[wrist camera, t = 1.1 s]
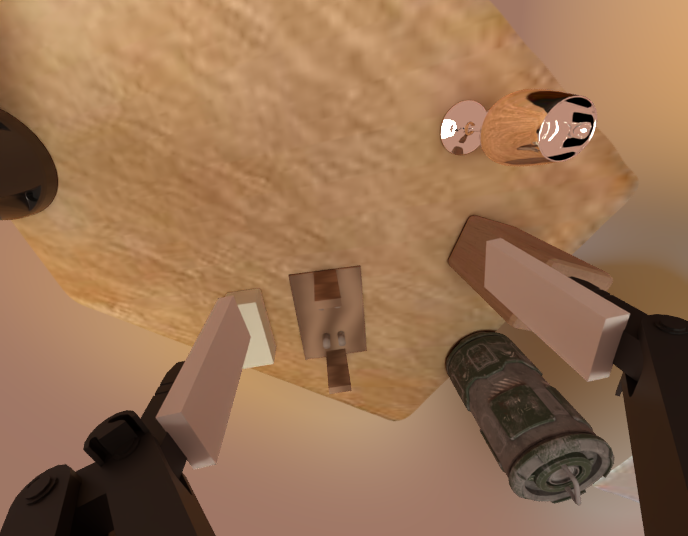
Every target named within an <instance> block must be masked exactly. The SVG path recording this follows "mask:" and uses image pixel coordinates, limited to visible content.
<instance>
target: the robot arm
mask: <svg viewBox="0 0 688 536" xmlns="http://www.w3.org/2000/svg"><path fill="white" fill-rule="evenodd" d="M56 190H57V175H56V170H55V167H54V164H53V161H52V159H51V157H50V155H49V153H48V152H47V150H46V149H45V147H44V146H43V144H42V143H41V142H40V140H39V139H38V138H37V137H36V136H35V135H34V134H33V133H32V132H31V131H30V130H29V129H28V128H27V127H26V126H25V125H24V124H22V123H21V122H20V121H18V120H17V119H16V118H14V117H13V116H11V115H10V114H8V113H6V112H4V111H3V110H1V109H0V220H13V219H19V218H23V217H26V216H29V215H32V214H35V213H38V212H40V211H42V210H44V209H45V208H46V207H47V206H48V205H49V204H50V203H51V202H52V200H53V199H54V197H55V194H56ZM484 287H485V288H486V289H487V290H488V291H489V292H490V293H492V294H493V295H494V296H495V297H496V298H497V299H498V300H499V301H500V302H501V303H502V304H504V305H505V306H506V307H507V308H508V309H509V310H510V311H511V312H512V313H513V314H514V315H516V316H517V317H518V318H519V319H520V320H521V321H522V322H523V323H524V324H525V325H526V326H527V327H529V328H530V329H531V330H532V331H533V332H534V333H535V334H536V335H537V336H538V337H539V338H541V339H542V340H543V341H544V342H545V343H546V344H547V345H548V346H549V347H550V348H551V349H553V350H554V351H555V352H556V353H557V354H558V355H559V356H560V357H561V358H562V359H563V360H564V361H566V362H567V363H568V364H569V365H570V366H571V367H572V368H573V369H575V371H576V372H578V373H579V374H580V375H581V376H582V377H583V378H584V379H585V380H586V381H588V382H589V381H593V380H598V379H602V378H606V377H609V375H610V372H611V369H612V366H613V364H614V365H615V366H617V367H618V368H619V369H621V370H622V371H623V374H622V377H621V379H620V382H619V385H618V387H617V390H616V394H615V395H617V396H620V394H621V392H622V391H623V397H624V403H625V410H626V416H627V423H628V430H629V436H630V443H631V449H632V456H633V462H634V469H635V475H636V482H637V488H638V495H639V501H640V508H641V514H642V521H643V526H644V534H645V536H688V321H686V320H684V319H681V318H678V317H674V316H669V315H660V314H654V315H647V314H645V313H644V312H642V311H640V310H638V309H637V308H635V307H633V306H631V305H629V304H628V303H625V302H624V301H622V300H620V299H618V298H617V297H615V296H613V295H610V293H608V292H606V291H604V290H600V288H599V287H597V286H595V285H594V284H592V283H590V282H588V281H585V280H582V279H579V278H576V277H573V276H571V277H567V276H565V275H563V274H562V273H560V272H558V271H557V270H555V269H553V268H551V267H550V266H548V265H546V264H545V263H543V262H541V261H539V260H538V259H536V258H534V257H533V256H531V255H529V254H528V253H526V252H524V251H522V250H521V249H519V248H517V247H516V246H514V245H512V244H510V243H509V242H507V241H505V240H504V239H502V238H499V239H494V240H489V241H486V261H485V281H484ZM250 339H251V336H250V334H249V331H248V329H247V326H246V324H245V322H244V319H243V317H242V315H241V312H240V310H239V308H238V305H237V303H236V301H235V298H234V296H233V295H232V296H227V297H222V298H218V300H217V302H216V303H215V305H214V307H213V309H212V311H211V313H210V315H209V317H208V319H207V321H206V323H205V324H204V326H203V328H202V330H201V332H200V334H199V336H198V338H197V340H196V342H195V343H194V345H193V347H192V349H191V351H190V353H189V355H188V357H187V359H186V361H182V362H178V363H176V364H175V365H174V366H173V367H172V368H171V369H170V370H169V371H168V372H167V374H166V375H165V377H164V379H163V380H162V382H161V384H160V387H158V389H157V391H156V393H155V396H153V398H152V399H151V401H150V403H149V405H148V406H147V408H146V410H145V412H144V413H143V415H142V417H141V419H140V418H139V417H138V415H137V414H136V413H135V412H134V411H128V410H126V411H123V412H119V413H116V414H115V415H113V416H111V417H109V418H108V419H106V420H105V421H103V422H102V423H101V424H99V425H98V426H97V427H96V428H95V429H94V430H93V432H92V433H90V435H89V436H88V438H87V440H86V441H85V444H84V451H85V452H86V453H87V454H88V455H89V456H90V457H91V458H92V459H93V460H94V461H95V463H93V464H91V465H88V466H86V467H84V468H82V469H80V470H78V471H76V472H75V471H74V470H72V469H71V468H70V467H69V466H67V465H66V464H65V465H57V466H55V467H53V468H51V469H48V470H46V471H45V472H43V473H42V474H40V475H39V476H37V477H36V478H35V479H33V480H32V481H31V482H30V483H29V484H28V485H26V486H25V488H24V489H23V490H22V491H21V492H20V493H19V494H18V495H17V497H16V498H15V500H14V502H13V503H12V505H11V507H10V509H9V512H8V514H7V516H6V519H5V521H4V524H3V526H2V529H1V532H0V536H216V535H215V534H214V532H213V530H212V528H211V526H210V524H209V522H208V520H207V518H206V516H205V514H204V512H203V510H202V508H201V506H200V504H199V502H198V500H197V498H196V496H195V494H194V492H193V490H192V488H191V486H190V484H189V482H188V480H187V478H186V477H185V475H184V474H183V473H182V471H183V468H184V466H185V463H186V460H187V461H188V462H189V463H190V465H191V466H192V467H193V469H198V468H202V467H207V466H211V465H216V463H217V459H218V456H219V452H220V448H221V445H222V441H223V437H224V434H225V430H226V426H227V423H228V419H229V416H230V412H231V408H232V404H233V401H234V397H235V394H236V390H237V386H238V383H239V379H240V375H241V372H242V368H243V365H244V361H245V357H246V354H247V350H248V346H249V343H250Z"/></svg>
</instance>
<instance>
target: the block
mask: <svg viewBox="0 0 688 536" xmlns="http://www.w3.org/2000/svg"><path fill="white" fill-rule="evenodd" d="M499 238H502V239H504V240H505V241H507V242H509V243H510V244H512V245H514V246H516V247H517V248H519V249H521V250H522V251H524V252H526V253H528V254H529V255H531V256H533V257H534V258H536V259H538V260H539V261H541V262H543V263H545V264H546V265H548V266H550V267H551V268H553V269H555V270H557V271H558V272H560V273H562V274H563V275H565V276H567V277H571V276H573V277H576V278H579V279H582V280H585V281H588V282H590V283H592V284H594V285H595V286H597V287H599V288H600V290H604V291H607V290H608V289H609V287H610V286H611V285H612V282H613V278H612V277H611V276H610V275H609V274H608V273H607V272H605V271H603V270H600V269H599V268H597V267H594V266H592V265H590V264H588V263H586V262H584V261H582V260H580V259H578V258H576V257H574V256H572V255H570V254H568V253H566V252H564V251H562V250H560V249H558V248H556V247H554V246H552V245H550V244H548V243H546V242H544V241H542V240H540V239H538V238H536V237H534V236H532V235H530V234H528V233H526V232H524V231H522V230H520V229H518V228H516V227H513V226H509V225H506V224H503V223H499V222H496V221H493V220H489V219H486V218H482V217H479V216H471V217H470V218H469V219H468V221H467V223H466V225H465V227H464V229H463V231H462V233H461V235H460V237H459V239H458V241H457V243H456V246H455V248H454V250H453V252H452V254H451V256H450V258H449V261H448V263H449V265H450V266H451V267H452V268H453V269H454V270H455V271H456V272H457V273H458V274H459V275H460V276H461V277H462V278H463V279H464V280H465V281H466V282H467V283H468V284H469V285H470V286H471V287H472V288H473V289H474V290H475V291H476V292H477V293H478V294H479V295H480V296H481V297H482V298H483V299H484V300H485V301H486V302H487V303H488V304H489V305H490V306H491V307H492V308H493V309H494V310H495V311H496V312H497V313H498V314H499V315H500V316H501V317H502V318H503V319H504V320H505V321H506V322H507V323H508V324H509V325H511V326H512V327H515V328H519V329H523V330H529V331H532V330H531V329H530V328H529V327H527V326H526V325H525V324H524V323H523V322H522V321H521V320H520V319H519V318H518V317H517V316H516V315H514V314H513V313H512V312H511V311H510V310H509V309H508V308H507V307H506V306H505V305H504V304H502V303H501V302H500V301H499V300H498V299H497V298H496V297H495V296H494V295H493V294H492V293H490V292H489V291H488V290H487V289H486V288H485V287H484V281H485V261H486V241H489V240H494V239H499Z"/></svg>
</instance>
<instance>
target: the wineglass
mask: <svg viewBox="0 0 688 536" xmlns="http://www.w3.org/2000/svg"><path fill="white" fill-rule="evenodd" d="M596 124H597V111H596V108H595V105H594V104H593V102H591V100H590V99H588V98H587V97H584V96H580V95H576V94H571V93H567V92H562V91H556V90H549V89H524V90H519V91H516V92H512V93H510V94H508V95H506V96H504V97H503V98H501V99H500V100H498V101H497V102H496V103H495V104H494V105H493V106H492V107H491V108H490V109H489V111H488V112H486V110H485V108H484V107H483V106H482V105H481V104H480V103H478V102H477V101H473V100H465V101H461V102H459V103H457V104H455V105H454V106H453V107H452V108H451V109H450V110H449V111H448V112H447V113H446V115H445V117H444V119H443V121H442V124H441V130H440V137H441V141H442V143H443V146H444V147H445V148H446V150H448V151H449V152H450V153H452V154H455V155H465V154H468V153H470V152H472V151H474V150H475V149H476V148H477V147H479V146H480V145H481V147H482V150H483V151H484V153H485V154H486V156H487V157H488V158H490V159H491V160H492V161H494V162H496V163H498V164H501V165H505V166H534V165H543V164H550V163H556V162H562V161H566V160H569V159H571V158H573V157H574V156H576V155H577V154H578V153H580V152H581V151H582V150H583V149H584V148H585V147H586V146H587V144H588V143H589V141H590V140H591V138H592V136H593V134H594V131H595V128H596Z"/></svg>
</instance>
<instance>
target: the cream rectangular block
mask: <svg viewBox="0 0 688 536" xmlns="http://www.w3.org/2000/svg"><path fill="white" fill-rule="evenodd" d="M232 295H233V296H234V298H235V301H236V303H237V305H238V308H239V310H240V312H241V315H242V317H243V319H244V322H245V324H246V326H247V329H248V331H249V334H250V336H251V339H250V343H249V346H248V350H247V354H246V357H245V361H244V365H243V368H242V369H244V368H251V367H257V366H263V365H270V364H274V359H275V352H276V344H275V340H274V337H273V333H272V330H271V326H270V322H269V319H268V315H267V312H266V308H265V304H264V301H263V297H262V294H261V290H260V288H257V289H250V290H244V291H237V292H230V293H227V294H226V296H225V297H227V296H232Z"/></svg>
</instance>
